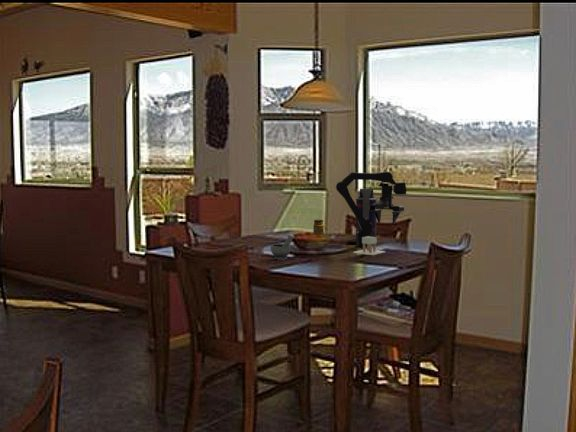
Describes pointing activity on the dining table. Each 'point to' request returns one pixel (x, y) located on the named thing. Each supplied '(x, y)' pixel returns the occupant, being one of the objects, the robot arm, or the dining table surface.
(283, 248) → the mortar and pestle
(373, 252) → the mat
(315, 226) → the condiment
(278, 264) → the dining table surface
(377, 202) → the robot arm
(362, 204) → the dark blue bottle
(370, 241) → the stool
